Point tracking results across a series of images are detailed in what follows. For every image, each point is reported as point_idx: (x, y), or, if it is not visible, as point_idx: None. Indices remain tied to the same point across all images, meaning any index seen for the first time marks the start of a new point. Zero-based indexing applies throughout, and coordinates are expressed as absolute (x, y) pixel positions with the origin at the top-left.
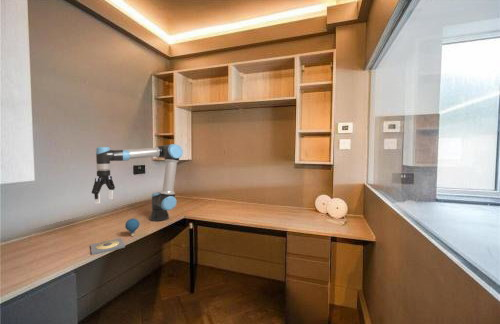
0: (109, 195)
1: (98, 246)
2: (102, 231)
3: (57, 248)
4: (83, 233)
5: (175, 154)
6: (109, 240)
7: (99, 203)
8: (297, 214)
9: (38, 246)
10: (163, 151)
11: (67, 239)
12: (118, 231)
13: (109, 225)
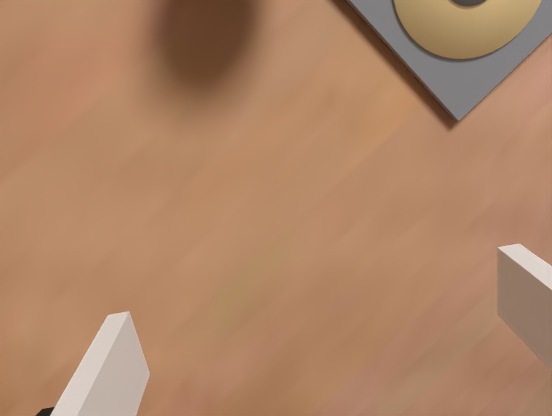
0: (123, 412)
1: (506, 20)
2: (197, 259)
3: (491, 285)
4: (257, 346)
5: None
6: (384, 35)
7: (513, 247)
8: None
9: (465, 399)
10: None
11: (362, 349)
12: (169, 139)
13: (72, 310)
